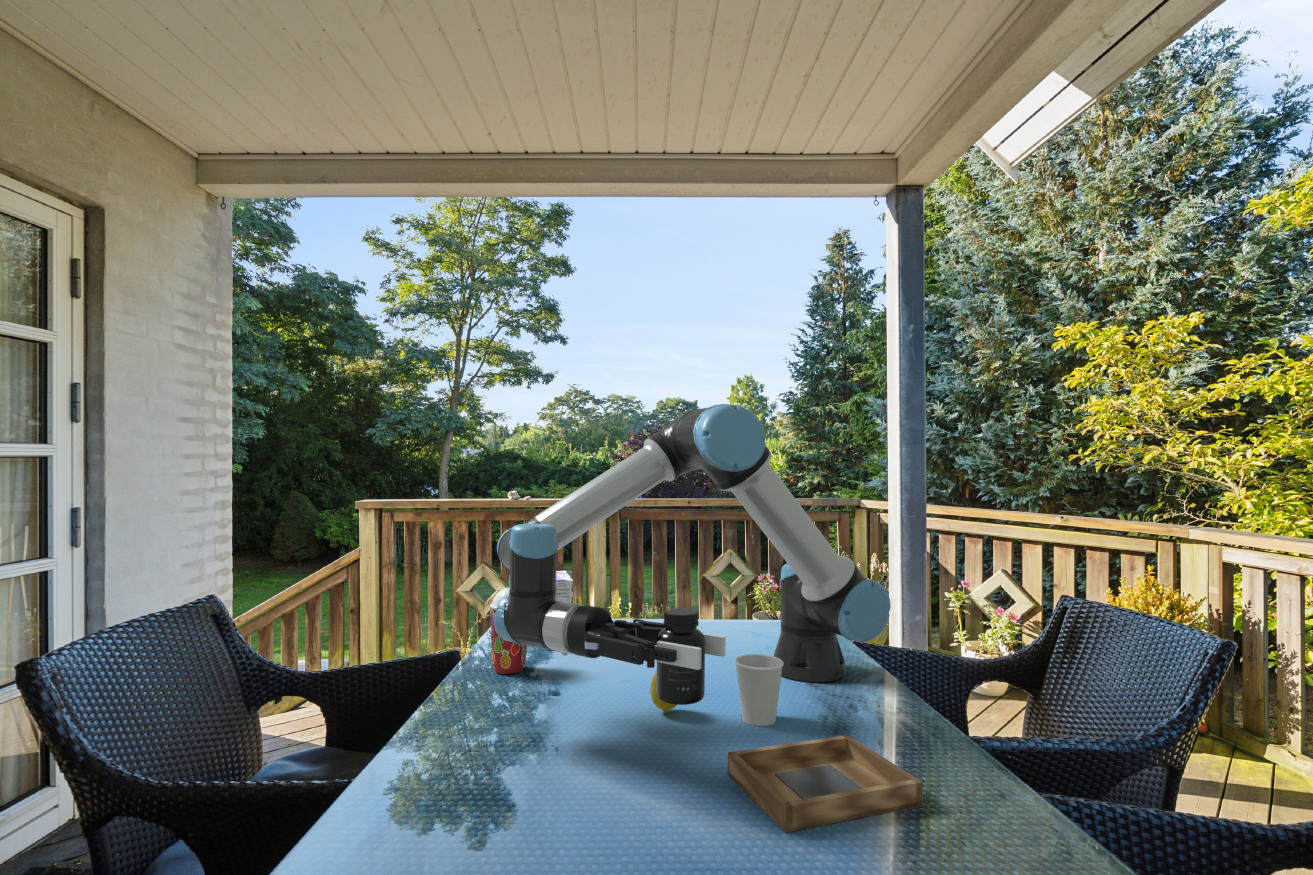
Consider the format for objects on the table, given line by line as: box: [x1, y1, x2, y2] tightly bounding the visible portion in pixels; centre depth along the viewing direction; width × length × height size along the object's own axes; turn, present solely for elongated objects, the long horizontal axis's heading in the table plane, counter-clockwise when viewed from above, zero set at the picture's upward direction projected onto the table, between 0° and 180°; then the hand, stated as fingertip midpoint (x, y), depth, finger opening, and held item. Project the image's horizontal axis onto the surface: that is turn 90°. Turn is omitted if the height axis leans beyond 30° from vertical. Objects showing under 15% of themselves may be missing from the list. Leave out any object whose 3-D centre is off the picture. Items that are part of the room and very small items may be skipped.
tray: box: [727, 734, 924, 834], centre depth 91 cm, size 20×16×3 cm
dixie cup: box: [734, 653, 784, 727], centre depth 116 cm, size 8×8×10 cm
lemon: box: [649, 671, 678, 714], centre depth 119 cm, size 6×6×8 cm
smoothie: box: [489, 573, 528, 675], centre depth 143 cm, size 8×8×20 cm
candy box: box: [547, 570, 574, 651], centre depth 165 cm, size 14×6×16 cm, turn 14°
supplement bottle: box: [656, 607, 706, 706], centre depth 95 cm, size 7×7×12 cm
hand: (712, 652), depth 93 cm, fingers closed on supplement bottle, 7 cm apart
